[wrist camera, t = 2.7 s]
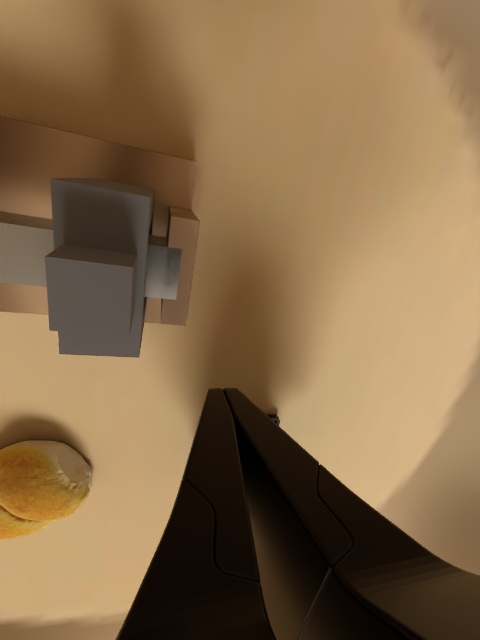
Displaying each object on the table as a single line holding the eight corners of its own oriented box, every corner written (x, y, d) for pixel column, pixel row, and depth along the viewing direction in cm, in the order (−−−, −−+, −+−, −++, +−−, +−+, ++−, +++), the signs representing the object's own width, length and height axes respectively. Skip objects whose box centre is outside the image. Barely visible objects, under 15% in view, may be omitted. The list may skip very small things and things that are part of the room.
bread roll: (-61, 471, 22) (-103, 525, 19) (49, 419, 23) (27, 464, 19) (18, 523, 26) (-5, 576, 23) (110, 479, 26) (102, 525, 23)
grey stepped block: (155, 189, 16) (147, 201, 9) (147, 301, 18) (135, 383, 11) (93, 177, 15) (26, 178, 8) (93, 296, 17) (43, 381, 10)
